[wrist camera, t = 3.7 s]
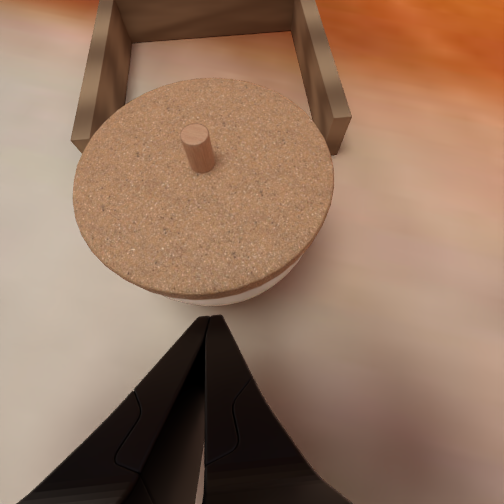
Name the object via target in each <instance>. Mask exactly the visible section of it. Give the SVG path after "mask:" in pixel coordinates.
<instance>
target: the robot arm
mask: <svg viewBox="0 0 504 504" xmlns="http://www.w3.org/2000/svg"><path fill="white" fill-rule="evenodd" d="M204 438H205V444H204ZM203 445H204V466H205V471H204V495H203V502H202V504H353V503H352V502H350V501H349V500H348V499H346V498H345V497H344V496H343V495H341V494H340V493H339V492H338V491H336V490H335V489H334V488H333V487H331V486H330V485H329V484H327V483H326V482H325V481H324V480H323V479H322V478H321V477H320V476H319V475H318V474H317V473H316V472H315V471H314V469H313V468H312V467H311V466H310V464H309V463H308V462H307V460H306V459H305V458H304V456H303V455H302V453H301V452H300V451H299V449H298V448H297V446H296V445H295V443H294V442H293V441H292V439H291V438H290V436H289V435H288V433H287V432H286V431H285V429H284V428H283V426H282V425H281V423H280V422H279V421H278V419H277V418H276V416H275V415H274V413H273V412H272V410H271V409H270V407H269V405H268V404H267V402H266V401H265V399H264V397H263V395H262V393H261V391H260V390H259V388H258V386H257V384H256V382H255V380H254V379H253V376H252V374H251V372H250V370H249V368H248V366H247V364H246V362H245V360H244V358H243V356H242V354H241V352H240V350H239V348H238V346H237V344H236V342H235V340H234V338H233V336H232V334H231V332H230V330H229V328H228V326H227V324H226V321H225V319H224V317H223V316H222V315H212V316H211V317H210V316H201V317H198V318H197V319H196V320H195V321H194V322H193V323H192V324H191V326H190V327H189V328H188V329H187V330H186V331H185V332H184V333H183V335H182V336H181V337H180V338H179V339H178V340H177V341H176V342H175V344H174V345H173V346H172V347H171V348H170V349H169V350H168V351H167V353H166V354H165V355H164V356H163V357H162V358H161V359H160V360H159V362H158V363H157V364H156V365H155V366H154V367H153V368H152V369H151V371H150V372H149V373H148V374H147V375H146V376H145V377H144V378H143V380H142V381H141V382H140V383H139V384H138V385H137V386H136V387H135V389H134V391H132V392H131V393H130V394H129V395H128V396H127V397H126V398H125V400H124V401H123V402H122V403H121V404H120V405H119V406H118V407H117V408H116V409H115V410H114V411H113V413H112V414H111V415H110V416H109V417H108V418H107V419H106V420H105V421H104V422H103V423H102V424H101V425H100V426H99V427H98V428H97V429H96V430H95V431H94V432H93V433H92V434H91V435H90V436H89V437H88V438H87V439H86V440H85V441H84V442H83V443H82V444H81V445H80V446H78V447H77V448H76V449H75V450H74V451H73V452H72V453H71V454H70V455H69V456H68V457H67V458H66V459H65V460H64V461H63V462H62V463H61V464H60V465H59V466H58V467H57V468H56V469H55V470H54V471H53V472H51V473H50V474H49V475H48V476H47V477H46V478H45V479H44V480H43V481H42V482H41V483H40V484H39V485H38V486H37V487H36V488H35V489H33V490H32V491H31V492H30V493H29V494H28V495H27V496H25V497H24V498H23V499H22V500H20V501H19V502H18V503H16V504H195V499H196V492H197V486H198V479H199V472H200V465H201V459H202V452H203Z"/></svg>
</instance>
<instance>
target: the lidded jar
mask: <svg viewBox="0 0 504 504" xmlns="http://www.w3.org/2000/svg"><path fill="white" fill-rule="evenodd" d="M333 189H334V168H333V164H332V159H331V154H330V151H329V149H328V146H327V144H326V141H325V139H324V137H323V135H322V134H321V132H320V131H319V129H318V128H317V126H316V125H315V123H314V122H313V121H312V120H311V119H310V117H309V116H308V115H307V114H306V113H305V112H304V111H303V110H302V109H301V108H299V107H298V106H297V105H296V104H294V103H293V102H292V101H290V100H289V99H287V98H285V97H284V96H282V95H281V94H279V93H277V92H275V91H272V90H270V89H268V88H265V87H263V86H260V85H256V84H253V83H250V82H246V81H240V80H234V79H223V78H204V79H193V80H186V81H180V82H176V83H173V84H169V85H166V86H162V87H160V88H157V89H154V90H152V91H149V92H147V93H145V94H143V95H141V96H139V97H137V98H136V99H134V100H132V101H130V102H129V103H127V104H126V105H124V106H123V107H122V108H120V109H119V110H117V111H116V112H115V113H114V114H113V115H112V116H111V117H109V118H108V119H107V120H106V121H105V122H104V123H103V124H102V126H101V127H100V128H99V129H98V130H97V131H96V132H95V133H94V135H93V136H92V138H91V139H90V141H89V143H88V144H87V146H86V148H85V149H84V151H83V154H82V156H81V158H80V160H79V163H78V165H77V169H76V174H75V179H74V187H73V205H74V212H75V218H76V221H77V224H78V227H79V229H80V232H81V235H82V237H83V238H84V240H85V241H86V243H87V245H88V246H89V248H90V249H91V251H92V252H93V253H94V254H95V255H96V256H97V258H98V259H99V260H100V261H101V262H102V263H103V264H104V265H105V266H106V267H108V268H109V269H110V270H112V271H113V272H115V273H116V274H117V275H119V276H120V277H122V278H123V279H125V280H126V281H128V282H130V283H133V284H135V285H137V286H139V287H141V288H143V289H145V290H147V291H150V292H153V293H157V294H160V295H163V296H165V297H167V298H169V299H172V300H176V301H180V302H183V303H187V304H193V305H203V306H220V305H229V304H233V303H238V302H242V301H245V300H247V299H250V298H253V297H255V296H258V295H259V294H261V293H263V292H265V291H266V290H268V289H270V288H271V287H273V286H274V285H275V284H276V283H278V282H279V281H280V280H281V279H282V278H284V277H285V276H286V275H287V274H288V273H289V272H290V270H291V269H292V268H293V267H294V266H295V265H296V264H297V263H298V261H299V260H300V258H301V257H302V255H303V253H304V252H305V251H306V250H307V249H308V248H309V246H310V245H311V243H312V242H313V240H314V239H315V237H316V235H317V234H318V232H319V230H320V229H321V227H322V225H323V223H324V221H325V218H326V215H327V213H328V210H329V208H330V205H331V200H332V195H333Z"/></svg>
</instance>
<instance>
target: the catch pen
mask: <svg viewBox="0 0 504 504" xmlns="http://www.w3.org/2000/svg"><path fill="white" fill-rule="evenodd" d="M290 30H291V33H292V37H293V41H294V45H295V49H296V53H297V57H298V61H299V66H300V70H301V74H302V78H303V82H304V86H305V90H306V94H307V98H308V103H309V107H310V111H311V115H312V119H313V122H314V123H315V125H316V126H317V128H318V129H319V131H320V132H321V134H322V135H323V137H324V139H325V141H326V144H327V146H328V149H329V151H330V154H331V155H337V152H338V150H339V147H340V145H341V142H342V140H343V137H344V135H345V132H346V130H347V128H348V125H349V123H350V120H351V118H352V115H351V112H350V109H349V106H348V103H347V100H346V96H345V93H344V90H343V87H342V84H341V81H340V78H339V75H338V71H337V68H336V65H335V62H334V59H333V56H332V53H331V50H330V46H329V43H328V40H327V37H326V34H325V31H324V28H323V24H322V21H321V18H320V15H319V12H318V9H317V6H316V3H315V0H100V1H99V6H98V10H97V15H96V20H95V25H94V30H93V35H92V39H91V44H90V49H89V54H88V59H87V63H86V68H85V73H84V78H83V83H82V88H81V92H80V97H79V102H78V107H77V112H76V116H75V121H74V126H73V131H72V136H71V142H72V143H73V144H74V145H75V146H76V147H77V148H78V149H79V151H80V152H81V153H82V154H83V151H84V149H85V148H86V146H87V144H88V143H89V141H90V139H91V138H92V136H93V135H94V133H95V132H96V131H97V130H98V129H99V128H100V127H101V126H102V124H103V123H104V122H105V121H106V120H107V119H108V118H109V117H111V116H112V115H113V114H114V113H115V112H116V111H117V110H119V109H120V108H122V107H123V106H124V105H125V97H126V89H127V80H128V71H129V63H130V54H131V46H132V43H134V42H147V41H160V40H173V39H186V38H199V37H212V36H225V35H238V34H251V33H264V32H277V31H290Z"/></svg>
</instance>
